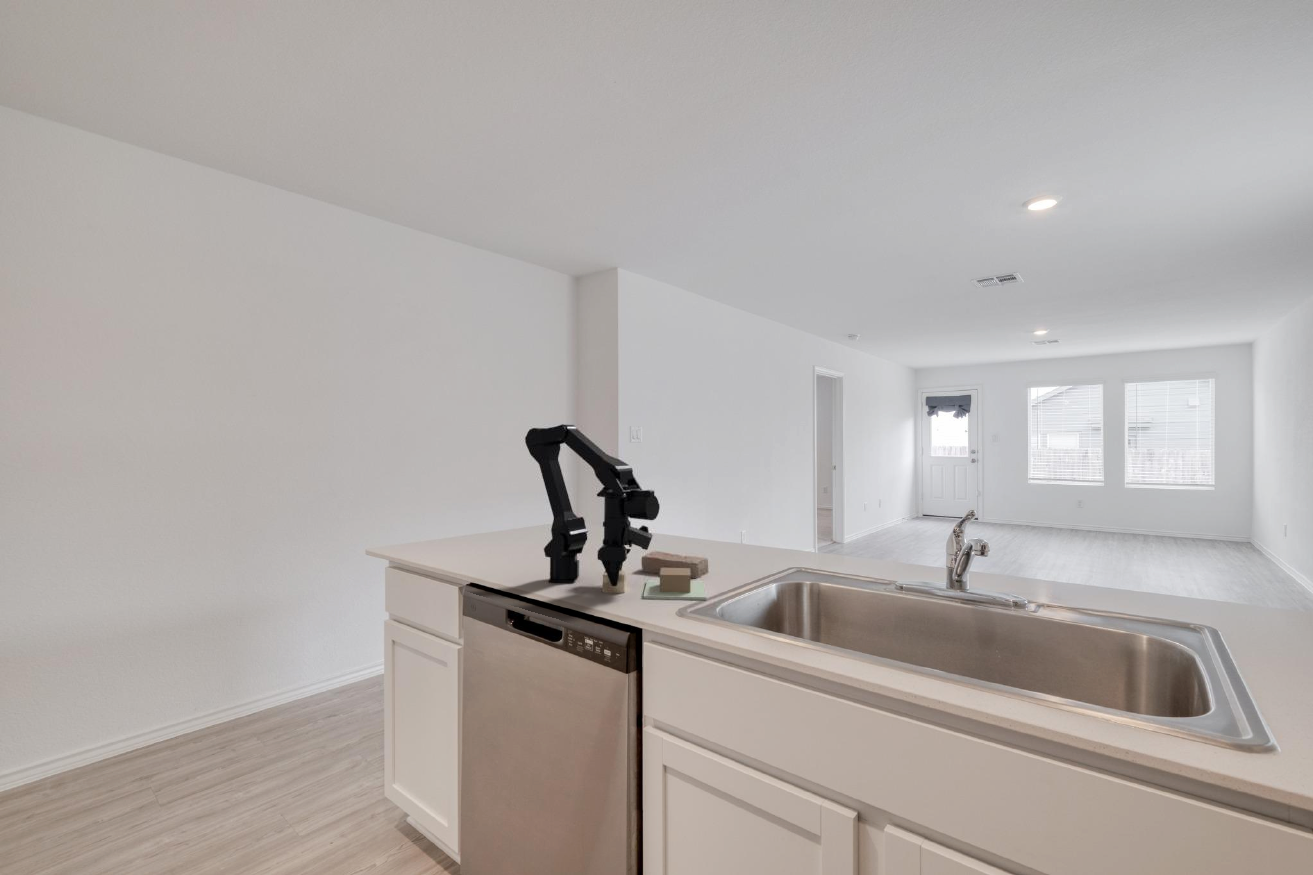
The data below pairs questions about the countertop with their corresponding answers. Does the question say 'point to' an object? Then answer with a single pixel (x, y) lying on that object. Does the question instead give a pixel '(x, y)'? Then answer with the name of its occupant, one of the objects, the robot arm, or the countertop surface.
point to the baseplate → (683, 596)
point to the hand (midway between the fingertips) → (615, 583)
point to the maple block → (620, 584)
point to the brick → (674, 563)
